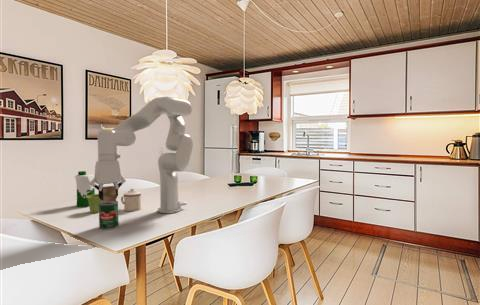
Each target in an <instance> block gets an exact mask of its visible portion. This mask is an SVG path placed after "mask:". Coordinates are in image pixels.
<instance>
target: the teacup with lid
mask: <svg viewBox="0 0 480 305" xmlns="http://www.w3.org/2000/svg"><path fill="white" fill-rule="evenodd" d="M120 202H121V204H122V205H124V206H123V207H124V211H126V212H136V211H137V212H138V211H139V210H142V209H141V208H142V192H141V191H138V190H135V188H130V189H129V191H126V192H125V193H123V196H121V198H120Z"/></svg>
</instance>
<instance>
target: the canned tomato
mask: <svg viewBox="0 0 480 305" xmlns="http://www.w3.org/2000/svg"><path fill="white" fill-rule="evenodd" d="M98 225H99V226H98V228H99V230H107V231H108V230H113V229H116V228H119V226H120V224H119V201H118V200H116V201H111V202H100V203H99V212H98Z"/></svg>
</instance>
